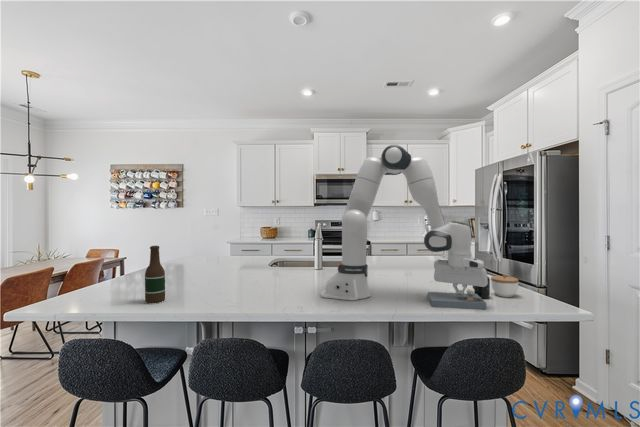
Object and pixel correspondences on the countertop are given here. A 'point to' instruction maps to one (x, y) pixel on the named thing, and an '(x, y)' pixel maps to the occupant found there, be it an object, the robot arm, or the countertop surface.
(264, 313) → the countertop surface
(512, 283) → the lidded jar
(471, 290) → the cream ball
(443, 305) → the plate
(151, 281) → the beer bottle
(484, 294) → the supplement bottle
